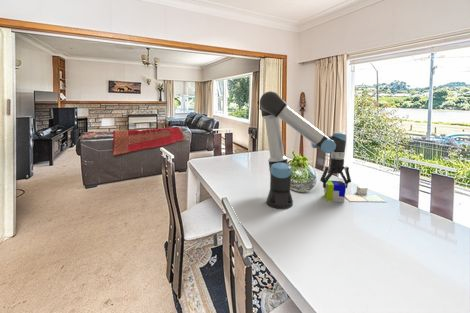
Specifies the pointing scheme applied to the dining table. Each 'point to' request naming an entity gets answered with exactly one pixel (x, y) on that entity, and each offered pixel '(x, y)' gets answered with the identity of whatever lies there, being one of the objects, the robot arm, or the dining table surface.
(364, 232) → the dining table surface
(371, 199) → the board
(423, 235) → the dining table surface
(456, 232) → the dining table surface
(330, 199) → the puzzle toy
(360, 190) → the die
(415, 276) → the dining table surface
